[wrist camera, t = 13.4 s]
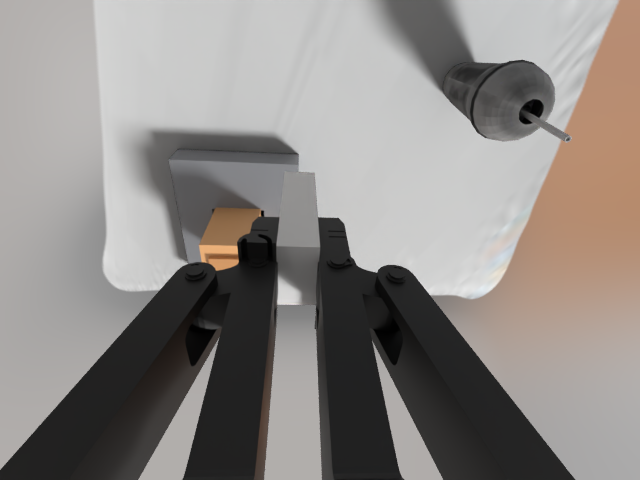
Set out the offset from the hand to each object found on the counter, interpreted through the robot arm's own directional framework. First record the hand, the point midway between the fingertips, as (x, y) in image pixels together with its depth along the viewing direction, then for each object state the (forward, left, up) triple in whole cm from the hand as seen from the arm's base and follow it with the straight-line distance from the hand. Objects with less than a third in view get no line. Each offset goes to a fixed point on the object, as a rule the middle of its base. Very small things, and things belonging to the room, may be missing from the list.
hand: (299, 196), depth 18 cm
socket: (+18, -8, -29) cm, 35 cm away
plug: (+18, -8, -28) cm, 34 cm away
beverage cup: (-2, +20, -29) cm, 36 cm away
